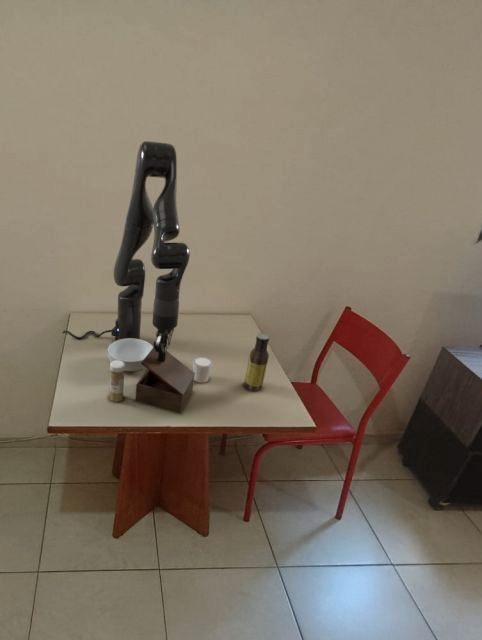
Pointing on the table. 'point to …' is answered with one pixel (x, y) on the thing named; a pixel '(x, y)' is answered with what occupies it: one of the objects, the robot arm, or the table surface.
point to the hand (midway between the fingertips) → (161, 360)
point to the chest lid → (169, 371)
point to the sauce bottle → (257, 363)
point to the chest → (161, 393)
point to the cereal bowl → (129, 352)
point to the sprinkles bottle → (117, 380)
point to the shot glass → (202, 369)
